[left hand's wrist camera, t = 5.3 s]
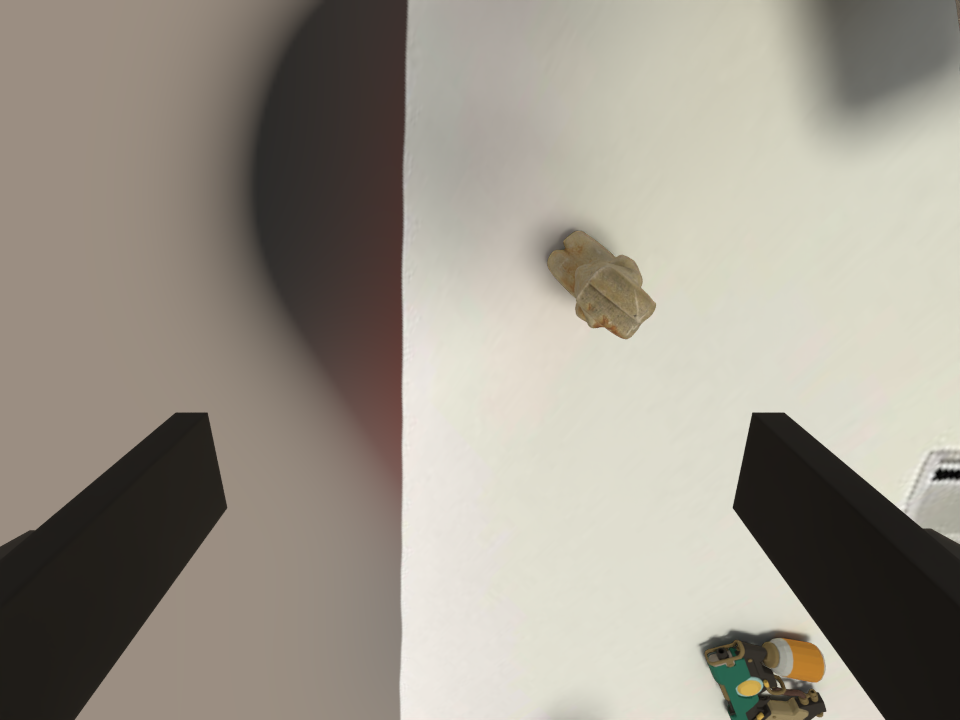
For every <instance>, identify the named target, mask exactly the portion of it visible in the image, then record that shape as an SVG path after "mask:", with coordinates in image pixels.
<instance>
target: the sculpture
mask: <svg viewBox="0 0 960 720" xmlns="http://www.w3.org/2000/svg"><path fill="white" fill-rule="evenodd" d="M564 246H565V249H564V250H555V251H553V252H552V253H551V255H550V256H549V258H548V262H547V264H548V268H549V270H550V271H551V273H552V274H553V275H554V277H555V278H556V279H557V280H558V281H559V282H560V283H561V284H562V285H563V287H564V288H565V289H566V290H567V291H568V292H569V293H570V294H571V295H573V296H574V297H575V298H576V302H577V303H576V307H575V310H576V315H577V316H578V317H579V318H581V319H582V320H584V321H586V322H587V323H588V325H589V326H590V327H591V328H599V327H605V328H606V329H607V330H609V331H610V332H612V333H613V334H615V335H616V336H618V337H620V338H623V339H628V338H630V337H632V335H633V334H634V333H635V332H636V331H637V330H638V328H639V326H640V325H641V324H642V323H643V322H644V321H645V320H646V319H648V318H649V317H650V316H651V315H652V314H653V312H654V310H655V308H656V303H655V302H654V301H653V300H652V299H651V298H650V296H649V295H648V294H647V293H646V292H645V291H644V290H643V289H642V288H641V286H642V282H643V281H642V276H641V273H640V271H639V268H638V266H637V264H636V263H635V261H634V260H632V259H630V258H629V257H627V256H624V255H619V256H618V257H615V256H614V255H613V254H611V253H610V252H609V251H608V250H607V249H606V248H604V247H603V246H602V245H601V244H600V243H598V242H597V241H596V240H594V239H593V238H592V237H590V236H589V235H587V234H586V233H584V232H582V231H575V232H573V233H572V234H571V235H570V236H568V237H567V238H566V239H565V240H564Z"/></svg>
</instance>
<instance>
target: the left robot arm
mask: <svg viewBox="0 0 960 720" xmlns="http://www.w3.org/2000/svg"><path fill="white" fill-rule="evenodd" d="M956 7H957V14H958V21H959V28H960V0H956ZM226 509H227V504H226V500H225V495H224V490H223V485H222V480H221V475H220V470H219V466H218V461H217V456H216V451H215V446H214V441H213V437H212V432H211V427H210V422H209V417H208V413H175V414H174V415H172V416H171V417H170V418H169V419H168V420H166V421H165V422H164V423H163V424H162V425H160V426H159V427H158V428H157V429H156V430H154V431H153V432H152V433H151V434H150V435H149V436H147V437H146V438H145V439H144V440H143V441H141V442H140V443H139V444H138V445H137V446H135V447H134V448H133V449H132V450H131V451H129V452H128V453H127V454H126V455H125V456H123V457H122V458H121V459H120V460H119V461H118V462H116V463H115V464H114V465H113V466H112V467H110V468H109V469H108V470H107V471H106V472H104V473H103V474H102V475H101V476H100V477H98V478H97V479H96V480H95V481H94V482H92V483H91V484H90V485H89V486H88V487H87V488H85V489H84V490H83V491H82V492H81V493H79V494H78V495H77V496H76V497H75V498H73V499H72V500H71V501H70V502H69V503H67V504H66V505H65V506H64V507H63V508H62V509H60V510H59V511H58V512H57V513H56V514H54V515H53V516H52V517H51V518H50V519H48V520H47V521H46V522H45V523H44V524H42V525H41V526H40V527H39V528H38V529H37V530H30V531H28V532H26V533H24V534H22V535H21V536H19V537H17V538H15V539H13V540H11V541H10V542H8V543H6V544H4V545H2V546H1V547H0V720H75V718H76V717H77V716H78V714H79V713H80V712H81V710H82V709H83V707H84V706H85V705H86V703H87V702H88V700H89V699H90V698H91V696H92V695H93V693H94V692H95V691H96V689H97V688H98V687H99V685H100V684H101V682H102V681H103V679H104V678H105V677H106V675H107V674H108V673H109V671H110V670H111V669H112V667H113V666H114V664H115V663H116V662H117V660H118V659H119V657H120V656H121V655H122V653H123V652H124V650H125V649H126V648H127V646H128V645H129V644H130V642H131V641H132V639H133V638H134V637H135V635H136V634H137V632H138V631H139V630H140V628H141V627H142V625H143V624H144V623H145V621H146V620H147V619H148V617H149V616H150V614H151V613H152V612H153V610H154V609H155V607H156V606H157V605H158V603H159V602H160V601H161V599H162V598H163V596H164V595H165V594H166V592H167V591H168V589H169V588H170V587H171V585H172V584H173V582H174V581H175V580H176V578H177V577H178V576H179V574H180V573H181V571H182V570H183V569H184V567H185V566H186V564H187V563H188V562H189V560H190V559H191V558H192V556H193V555H194V553H195V552H196V551H197V549H198V548H199V546H200V545H201V544H202V542H203V541H204V539H205V538H206V537H207V535H208V534H209V532H210V531H211V530H212V528H213V527H214V526H215V524H216V523H217V521H218V520H219V519H220V517H221V516H222V514H223V513H224V512H225V510H226ZM733 509H734V510H735V512H736V513H737V515H738V516H739V517H740V519H741V520H742V521H743V523H744V524H745V526H746V527H747V528H748V530H749V531H750V533H751V534H752V535H753V537H754V538H755V539H756V541H757V542H758V544H759V545H760V546H761V548H762V549H763V551H764V552H765V553H766V555H767V556H768V558H769V559H770V560H771V562H772V563H773V564H774V566H775V567H776V569H777V570H778V571H779V573H780V574H781V576H782V577H783V578H784V580H785V581H786V582H787V584H788V585H789V587H790V588H791V589H792V591H793V592H794V594H795V595H796V596H797V598H798V599H799V601H800V602H801V603H802V605H803V606H804V607H805V609H806V610H807V612H808V613H809V614H810V616H811V617H812V619H813V620H814V621H815V623H816V624H817V626H818V627H819V628H820V630H821V631H822V632H823V634H824V635H825V637H826V638H827V639H828V641H829V642H830V644H831V645H832V646H833V648H834V649H835V650H836V652H837V653H838V655H839V656H840V657H841V659H842V660H843V662H844V663H845V664H846V666H847V667H848V669H849V670H850V671H851V673H852V674H853V675H854V677H855V678H856V680H857V681H858V682H859V684H860V685H861V687H862V688H863V689H864V691H865V692H866V693H867V695H868V696H869V698H870V699H871V700H872V702H873V703H874V705H875V706H876V707H877V709H878V710H879V712H880V713H881V714H882V716H883V717H884V718H885V720H960V544H958V543H956V542H954V541H953V540H951V539H949V538H947V537H945V536H943V535H942V534H940V533H938V532H936V531H934V530H933V529H922V528H921V527H920V526H919V525H918V524H916V523H915V522H914V521H913V520H912V519H910V518H909V517H908V516H907V515H906V514H904V513H903V512H902V511H901V510H900V509H899V508H897V507H896V506H895V505H894V504H893V503H891V502H890V501H889V500H888V499H887V498H885V497H884V496H883V495H882V494H881V493H879V492H878V491H877V490H876V489H875V488H873V487H872V486H871V485H870V484H869V483H868V482H866V481H865V480H864V479H863V478H862V477H860V476H859V475H858V474H857V473H856V472H854V471H853V470H852V469H851V468H850V467H848V466H847V465H846V464H845V463H844V462H843V461H841V460H840V459H839V458H838V457H837V456H835V455H834V454H833V453H832V452H831V451H829V450H828V449H827V448H826V447H825V446H823V445H822V444H821V443H820V442H819V441H817V440H816V439H815V438H814V437H813V436H812V435H810V434H809V433H808V432H807V431H806V430H804V429H803V428H802V427H801V426H800V425H798V424H797V423H796V422H795V421H794V420H792V419H791V418H790V417H789V416H788V415H786V414H785V413H752V417H751V422H750V427H749V432H748V437H747V441H746V446H745V451H744V456H743V461H742V466H741V470H740V475H739V480H738V485H737V490H736V495H735V499H734V504H733Z"/></svg>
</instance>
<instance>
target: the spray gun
mask: <svg viewBox="0 0 960 720" xmlns="http://www.w3.org/2000/svg"><path fill="white" fill-rule="evenodd" d="M737 643H738V645H739V646H737V650H736V649H734V648H732V647H734V646H736V644H737ZM727 648H729V650H728V649H727ZM715 651H716V654H711V655H710V656H709V657H707V655H708V654H709V653H711V652H715ZM705 657H706V660H707V663H708V665H709V668H710V670H711V673H712V675H713V677H714V679H715V680H716V682H718V683H719V685H720V688H721V690H722V693H723V695H724V697H725V699H726V700H728V703H729V705H728V707H727V708H728V713H729V716H730V718H731V720H811V719H812V718H814V717H815V716H817V717H822V716H823V712H826V708H825V704H824V701H823V700H822V698H821V696H820V694H819V693H818V692H816V691H815V690H814V689H810V690H809V693H808V694H805V693H804V692H802V691H800V690H796V689H786V688H785V685H784V683H783V681H782V679H781V678H780V677H779V676H777V675H774V674H773V672H772V671H774V672H775V673H776V674H778V675H780V676H783V677H788V678H793V679H798V680H803V681H808V682H819V681H820V680H821V679H822V678H823V676H824V674H825V660H824V657H823V654H822V652H821V651H820V650H819V649H818V647H817V646H815V645H814V644H812V643H808V642H802V641H796V640H790V639H785V638H775V639H772V640H770V641H769V642H765V643H764V644H763V645H762V647H761V646H757V645H753V644H749V643H745V642H741V641H739V640H735V641H734V642H733V643H731V644H727V645H723V646H719V647H715V648H712V649H708V650H706V651H705ZM761 661H763V662H764V664H765V665H766V666H767V667H768V668H767V667H765V666H763V665H761ZM770 668H771V669H772V670H771V669H770ZM775 679H776V680H778V681H779V683H780V685H781V688H778V687H777V683H776V680H775ZM770 688H771V689H772V690H771V689H770ZM765 690H767V691H768V692H769V693H770V694H772V695H788V696H798V697H792V698H790V699H789V700H788V701H776V700H770V697H768V696H767V697H766V698H764V697H762V698H760V697H758V695H760V694H761V693H763V692H764V691H765Z"/></svg>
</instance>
